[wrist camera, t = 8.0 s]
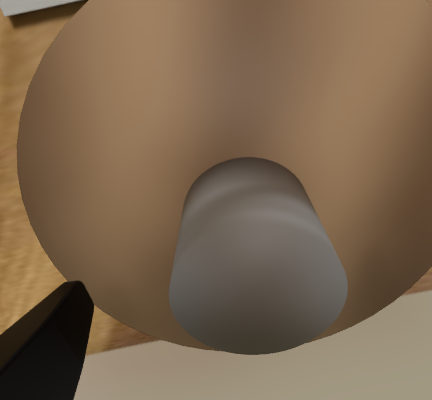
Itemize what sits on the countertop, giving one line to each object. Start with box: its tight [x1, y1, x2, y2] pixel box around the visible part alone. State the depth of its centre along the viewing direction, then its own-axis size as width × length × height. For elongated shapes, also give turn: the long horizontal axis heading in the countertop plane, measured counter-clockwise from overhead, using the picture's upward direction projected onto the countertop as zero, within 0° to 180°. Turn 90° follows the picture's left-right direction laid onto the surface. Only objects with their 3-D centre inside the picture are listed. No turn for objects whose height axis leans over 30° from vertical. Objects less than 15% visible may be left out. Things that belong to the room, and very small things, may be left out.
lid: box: [17, 0, 432, 355], centre depth 9 cm, size 14×14×4 cm
